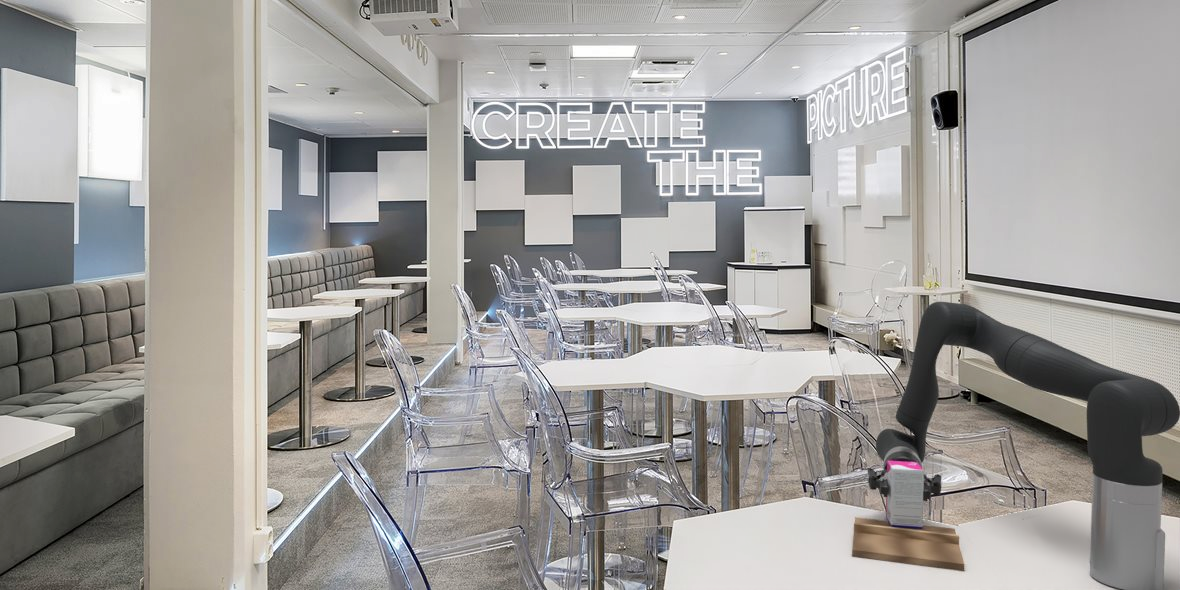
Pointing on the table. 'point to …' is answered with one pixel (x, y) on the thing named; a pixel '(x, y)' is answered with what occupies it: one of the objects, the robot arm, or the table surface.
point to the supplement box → (905, 495)
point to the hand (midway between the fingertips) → (905, 493)
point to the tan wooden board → (907, 544)
